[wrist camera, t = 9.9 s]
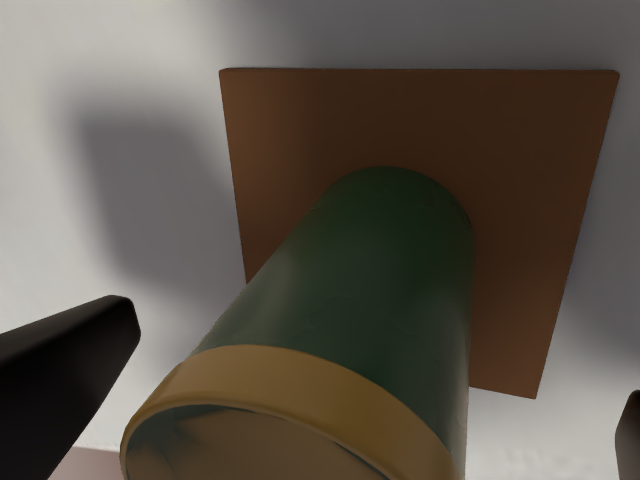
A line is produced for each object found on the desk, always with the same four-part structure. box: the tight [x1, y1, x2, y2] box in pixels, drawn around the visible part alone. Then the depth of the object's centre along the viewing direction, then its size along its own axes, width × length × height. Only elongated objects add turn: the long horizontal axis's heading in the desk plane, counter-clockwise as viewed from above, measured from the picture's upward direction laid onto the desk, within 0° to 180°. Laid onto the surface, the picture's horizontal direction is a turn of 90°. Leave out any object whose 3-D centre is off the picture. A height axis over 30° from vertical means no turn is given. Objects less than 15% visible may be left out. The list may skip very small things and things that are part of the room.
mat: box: [219, 68, 620, 399], centre depth 11 cm, size 8×8×1 cm
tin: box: [120, 166, 475, 480], centre depth 8 cm, size 4×4×7 cm
